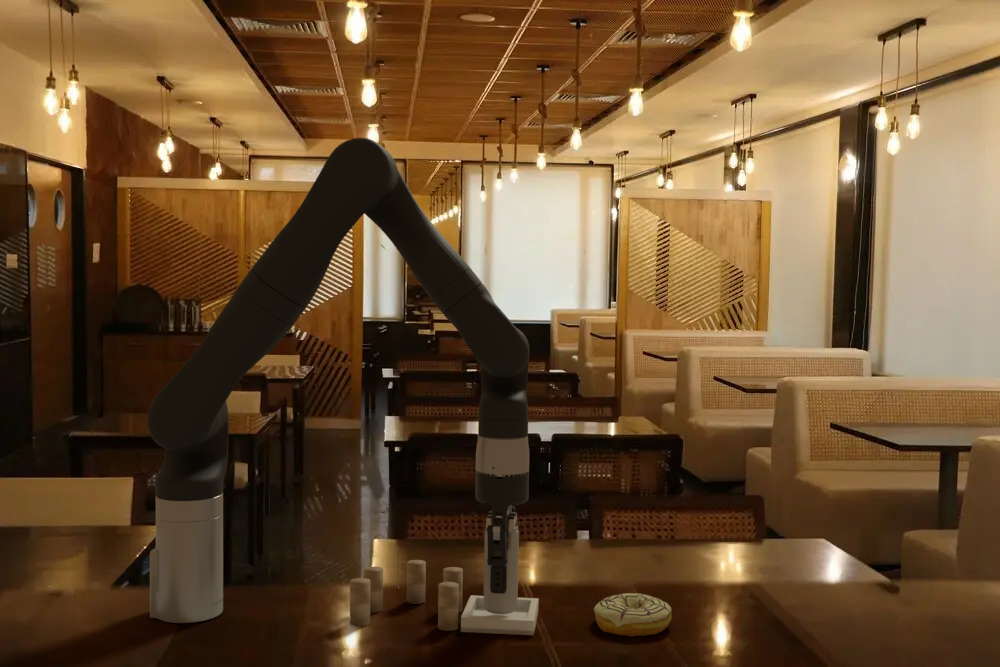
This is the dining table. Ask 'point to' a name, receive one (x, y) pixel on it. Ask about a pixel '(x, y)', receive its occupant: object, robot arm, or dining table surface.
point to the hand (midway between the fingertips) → (500, 586)
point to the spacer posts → (370, 594)
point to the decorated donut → (632, 614)
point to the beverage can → (510, 598)
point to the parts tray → (500, 618)
